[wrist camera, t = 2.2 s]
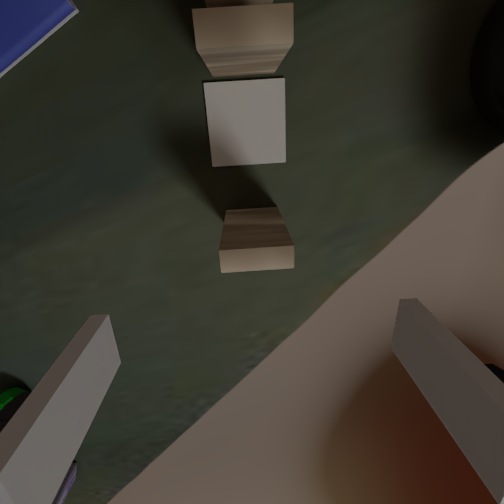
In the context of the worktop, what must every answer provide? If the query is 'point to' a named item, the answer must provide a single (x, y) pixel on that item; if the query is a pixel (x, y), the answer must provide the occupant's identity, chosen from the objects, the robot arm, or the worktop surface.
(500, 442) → the robot arm
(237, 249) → the domino
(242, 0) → the domino
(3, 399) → the polyhedron
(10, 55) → the hard drive
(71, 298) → the worktop surface
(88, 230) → the worktop surface
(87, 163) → the worktop surface
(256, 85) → the end pad
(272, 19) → the domino
